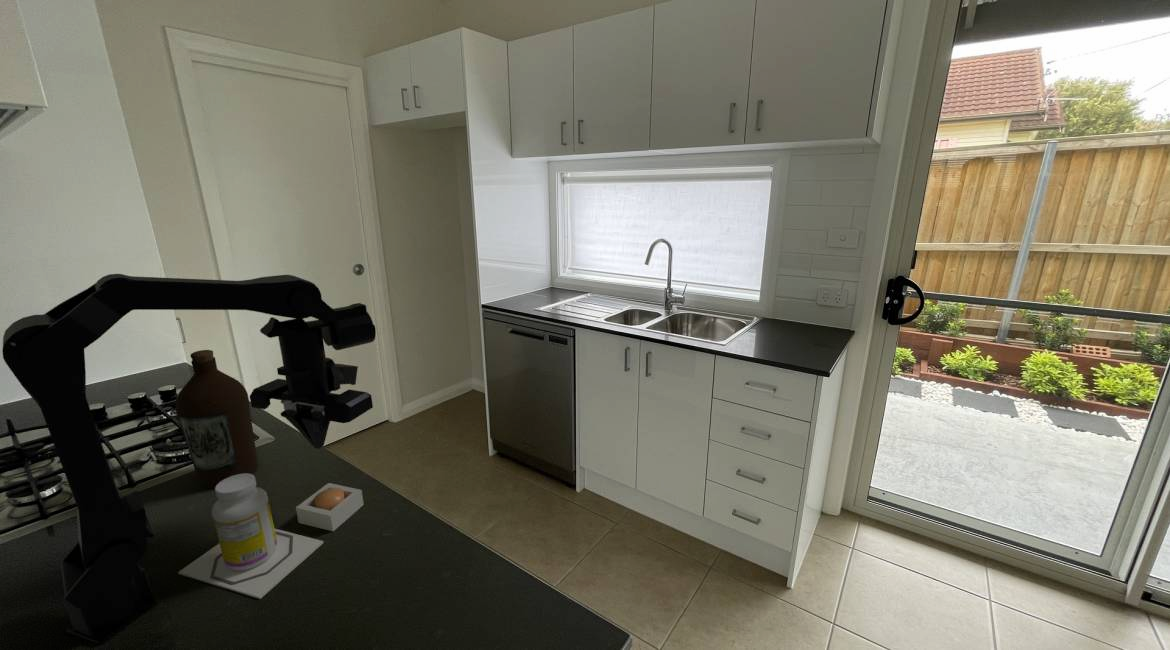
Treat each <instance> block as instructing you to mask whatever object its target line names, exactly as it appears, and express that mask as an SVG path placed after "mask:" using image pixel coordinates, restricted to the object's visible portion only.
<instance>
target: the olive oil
mask: <svg viewBox="0 0 1170 650" xmlns="http://www.w3.org/2000/svg"><path fill="white" fill-rule="evenodd" d="M190 358H191V362H190V364H191V366H192V367H191V368H192V369H193V375H192V376H191V377H190V379H189V380H188V381H187V382H186V383H185V384H184V386H183V387H182V388H181V390H180V391H179V393H178V394H177V396H176V400H175V407H174V408H175V413H176V417H177V419H178V422H179V426H180V428H181V431H182V434H183V436H184V440H185V443H186V446H187V449H188V452H189V455H190V459H191V462H192V464H193V469H194V472H195V475H196V478H197V482H198V484H199V486H201V487H203V488H206V489H215V487H216V485H217V484H218V483H219V482H221V481H222V480H224V479H226V478H228V477H231V476H233V475H237V474H244V473H248V474H252V475H254V474H255V473H256V472H257V471H258V469H259V459H258V452H257V448H256V447H257V446H256V442H255V435H254V426H253V422H252V415H251V406H250V405H251V404H250V397H249V395H248V391H247V389H246V388H245V386H244V385H243V383H241V382H240V381H239V380H238V379H236V378H234V377H232V376H230V375H228V374H226V373H224V372H222V371H221V370H220V369H218V366H217V361H216V357H215V356H214V351H213V350H211V349H203V350H196V351H193V352H192V353H190Z"/></svg>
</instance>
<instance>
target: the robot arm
mask: <svg viewBox="0 0 1170 650" xmlns="http://www.w3.org/2000/svg"><path fill="white" fill-rule="evenodd" d="M135 310H136V311H137V310H139V311H140V310H142V311H143V310H145V311H147V310H148V311H153V310H154V311H157V310H158V311H159V310H160V311H161V310H163V311H164V310H165V311H167V310H168V311H171V310H172V311H177V310H179V311H181V310H182V311H210V310H211V311H222V310H223V311H250V312H256V313H261V314H266V315H269V316H270V315H271V316H272V317H270V318H269V320H268V322H267V323H265V324H264V326H262V327H261V328H260V330H259V332H260V333H261V334H262V335H264V336H266V337H267V338H269V339H272V338H277V337H278V342H279V348H280V353H281V354H280V355H281V358H282V359H281V360H282V366H280V367H277V371H276V372H277V375H278V376H285V379H282V378H276V379H274V380H272V381H269V382H267V383H264V384H262V385H260V386H257V387H255V388H253V390H252V391H251V393H250V395H249V402H250V405H251V406H250V407H251V408H253V409H260V410H267V409H268V408H269V407H270V405H271V400H277V401H280V403H281V404H283V411H281V412H280V416H281V417H282V418H285V419H286V420H287V421H288V422H289V423H290V424H291V425H292V426H293V427H294V428H295V429H296V430H297V431H298V432H299V433H300V434H301V435H302V436H303V437H304V438H305V439H306V440H307V441H308V443H309V444H310V445H311V446H312V447H313V448H314V449H318V450H319V449H322V448H323V447H324V445H325V443H326V438H327V434H328V430H329V428H330V427H329V426H330V423H331V422H335V423H340V424H347V423H351V422H352V421H354V420H356V419H357V418H358V417H361V416H362V415H364V414H365V413H366V412H368V411H369V410H371V409H373V407H374V404H373V399H372V398H373V397H372V394H370V393H368V392H367V391H363V390H357V389H356V390H354V389H347V390H345V391H343V392H341V393H335V392H336V391H338V390H340V389H341V386H342V385H351V386H355V385H356V383H357V378H358V376H357V375H358V370H359V367H358V366H357V365H351V364H343V363H335V360H333V358H330V357H326V351H325V345H326V346H328V347H330V346H331V347H332V348H333V349H334V350H335V351H340V350H341V351H343V350H345V349H350V348H354V347H358V346H362V345H365V344H371V343H373V342H374V341H375V339H376V335H377V334H376V325H375V324H374V322H373V320H372V317H371V315H370V314H369V312H368V311H367V305H366V304H363V303H362V302H361V303H360V302H357V303H352V304H350V305H347V306H340V307H336V308H335V307H334V308H333V307H331V306H330V305H329V304H327V303H326V301H324V300H323V299H322V292H321V291H320V288H319V287H318V286H317V284H315V283H314V282H311V281H310V280H306V279H305V278H301V277H299V276H296V275H292V274H280V275H270V276H261V277H256V278H251V279H244V280H231V279H230V280H226V279H224V280H223V279H204V278H203V279H201V278H179V277H159V276H158V277H157V276H156V277H154V276H133V275H132V276H131V275H127V274H122V273H113V274H112V273H111V274H107V275H104V276H102V277H101V278H99V279H98V280H97V281H96V282H95V283H93V285H92V284H91V286H89V287H88V288H86V289H84V290H82V291H80V292H79V293H77V294H75V295H73V296H71V297H69V298H68V299H65V300H64V301H62V302H61V303H59V304H57V305H56V306H54V307H53V308H51V309H50V310H48V311H47V312H45V313H43V314H31V315H28V316H23V317H22V318H20V319H18V320H15V321H13V322H12V323H11V324H10V326H8V327H7V329H5V331H4V333H3V336H2V337H3V338H2V351H1V353H2V359H3V361H4V362H5V364H6V366H8V369H9V370H10V371H11V373H12V374H13V375H14V377H15V378H16V380H17V381H18V382H19V384H20V385H21V386H22V388H23V389H24V390H25V391H26V392H27V393H28V395H29V396H30V397H31V399H32V400H34V402H35V403H36V404H37V405H38V407H39V408H40V410H41V414H42V416H43V420H44V422H45V423H46V426H47V430H48V431H49V435H50V437H51V440H52V442H53V445H54V448H55V450H56V453H57V456H58V459H59V462H60V464H61V466H62V469H63V472H64V475H65V477H66V478H65V479H66V480H67V483H68V487H69V488H70V491H71V494H72V497H73V499H74V502H75V504H76V520H77V521H76V523H77V536H78V541H77V542H76V543H75V544H74V545H73V547H72V548H70V550H69V551H68V553H66V554H65V556H64V557H63V558H62V559H61V561H60V568H61V574H62V575H61V577H62V583H63V585H62V586H63V592H61V594H60V596H61V599H62V601H63V604H64V606H65V609H66V612H67V614H68V616H69V619H70V623H69V624H68V625H67V626H66V627H65V631H66V632H67V633H70V634H72V635H74V636H78V637H80V638H83V639H85V640H88V641H90V642H93V643H96V644H99V643H100V644H103V643H105V642H107V641H108V640H109V639H110V638H112V637H113V636H114V635H117V633H119V632H120V631H121V630H123V629H125V627H127V626H128V625H130V624H131V623H132V622H134V621H135V620H136V619H138V618H139V617H141V616H142V615H143V614H144V613H146V612H147V611H149V610H150V609H151V608H152V607H154V606H156V605H157V604H158V602H159V601H158V598H157V597H155V596H152V595H151V593H152V588H151V586H150V585H151V584H150V582H149V579H148V575H147V572H146V569H145V568H144V567H141V566H139V563H138V562H139V561H141V560H142V558H143V556H144V555H145V554H147V552H148V549H149V541H148V539H150V538H154V536H155V534H154V532H153V530H152V526H151V525H150V521H149V519H148V517H147V514H146V513H147V512H146V509H145V506H144V503H143V501H142V498H141V497H140V493H139V491H138V490H134V491H132V492H130V493H128V494H126V495H125V494H123V493H122V492H121V490H120V489H119V488H118V487H117V485H116V481H115V478H114V475H113V474H112V469H111V467H110V465H109V461H108V459H107V456H106V453H105V449H104V447H103V443H102V441H101V437H100V434H99V432H98V429H97V426H96V422H95V421H94V417H93V415H92V411H91V408H90V406H89V402H88V400H87V399H88V398H87V395H86V393H87V390H86V389H87V387H86V386H87V384H86V382H87V381H86V380H87V375H86V359H85V358H86V357H85V356H86V355H85V349H86V348H87V347H89V346H90V345H92V344H93V343H95V342H97V340H99V339H100V338H101V337H102V336H103V335H104V334H105V333H106V332H109V330H110V329H111V328H112V327H113V326H114V325H116V323H118V322H119V321H120V320H121V319H122V318H124V317H125V316H126V315H127V314H129V313H130V312H132V311H135ZM273 316H276V317H284V318H290V319H286V320H281V321H280V320H279V319H278V318H275V317H273ZM310 317H311V318H314V320H309V321H305V319H308V318H310ZM315 319H316V320H315ZM332 392H334V393H332ZM100 644H99V645H100Z"/></svg>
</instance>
